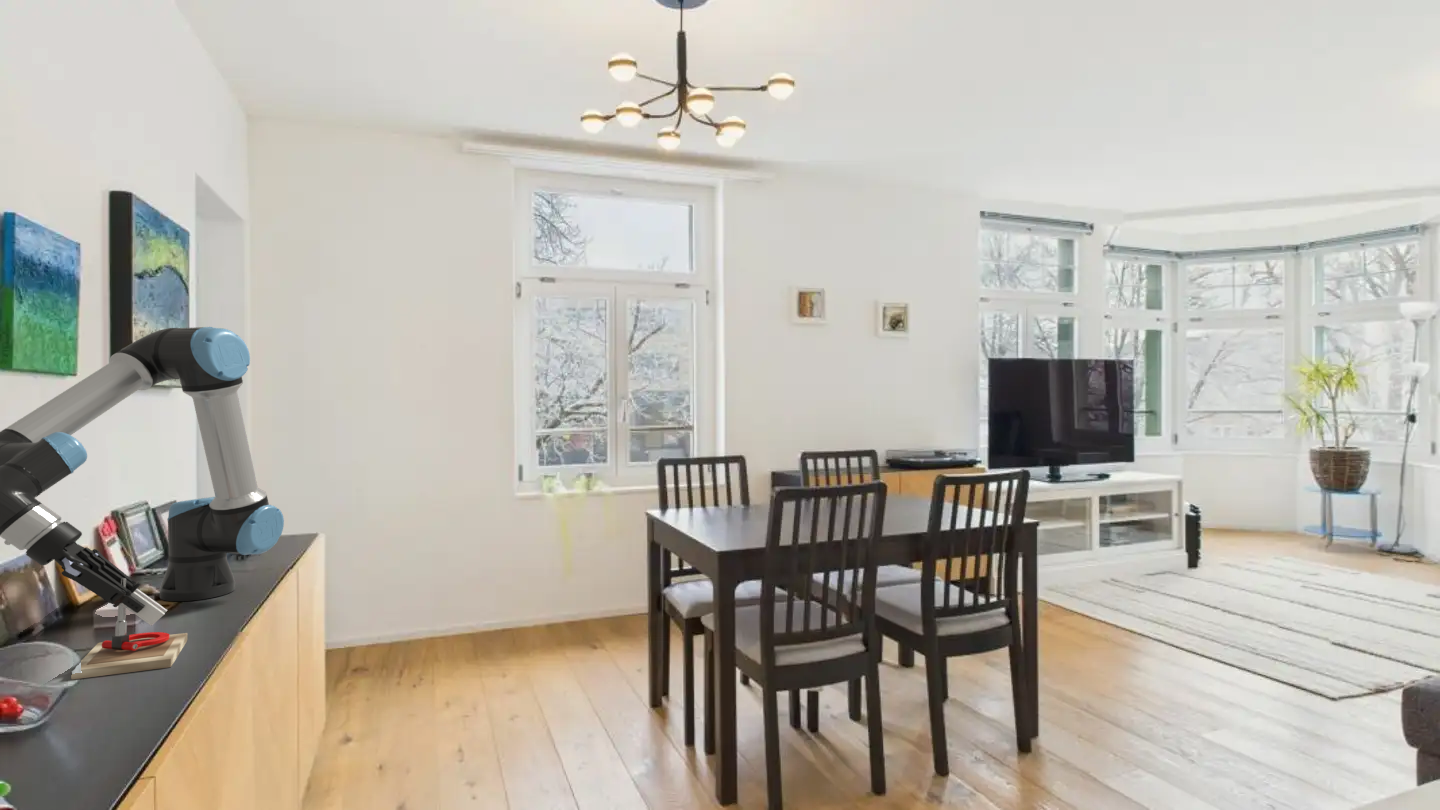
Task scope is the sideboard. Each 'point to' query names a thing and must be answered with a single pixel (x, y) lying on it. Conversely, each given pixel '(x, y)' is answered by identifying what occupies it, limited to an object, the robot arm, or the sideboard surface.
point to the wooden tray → (131, 658)
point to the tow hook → (122, 640)
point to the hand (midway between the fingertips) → (159, 617)
